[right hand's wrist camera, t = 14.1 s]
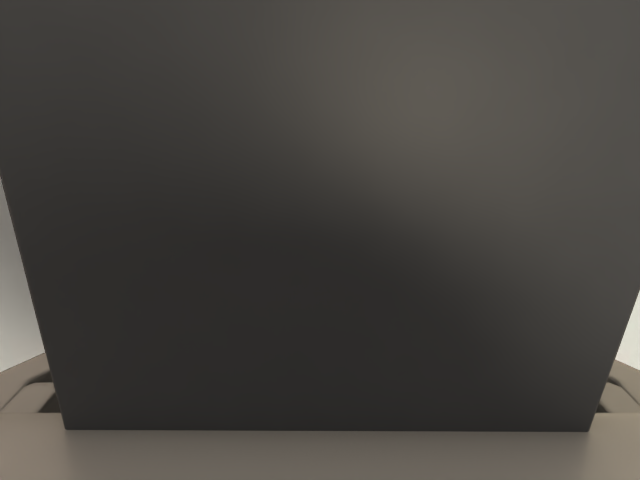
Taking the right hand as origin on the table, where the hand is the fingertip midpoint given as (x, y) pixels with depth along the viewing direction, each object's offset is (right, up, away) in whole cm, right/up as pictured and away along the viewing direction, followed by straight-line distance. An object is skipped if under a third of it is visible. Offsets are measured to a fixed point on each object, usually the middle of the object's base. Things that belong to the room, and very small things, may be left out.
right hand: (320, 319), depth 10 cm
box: (0, +10, +2) cm, 11 cm away
